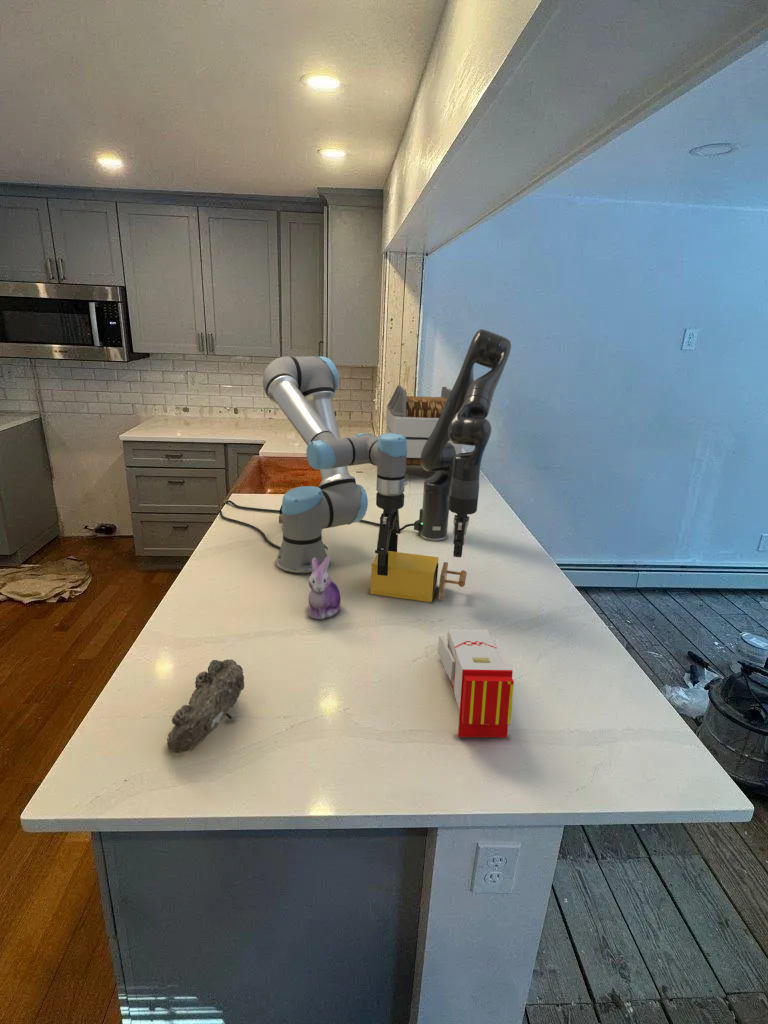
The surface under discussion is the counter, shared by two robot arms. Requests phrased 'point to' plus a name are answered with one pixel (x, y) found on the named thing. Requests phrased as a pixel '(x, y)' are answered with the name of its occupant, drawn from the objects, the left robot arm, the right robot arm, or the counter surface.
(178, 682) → the counter surface
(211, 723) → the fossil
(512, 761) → the counter surface
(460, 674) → the toy
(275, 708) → the counter surface
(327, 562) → the figurine
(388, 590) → the cabinet
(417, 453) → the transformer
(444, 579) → the drawer
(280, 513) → the figurine character
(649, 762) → the counter surface
